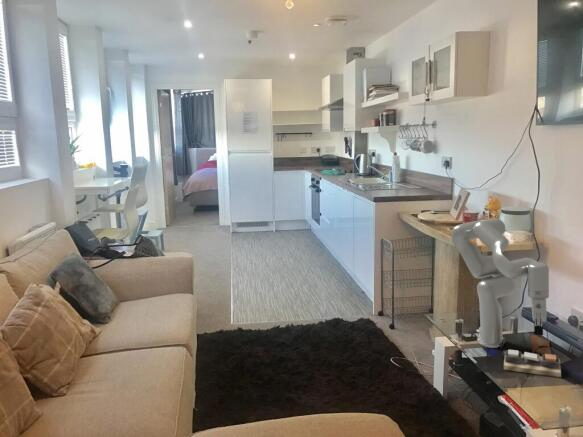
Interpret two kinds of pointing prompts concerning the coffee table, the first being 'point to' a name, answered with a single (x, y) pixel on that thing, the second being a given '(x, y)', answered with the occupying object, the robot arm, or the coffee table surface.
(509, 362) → the switch panel
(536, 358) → the rocker
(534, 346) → the sunglasses case
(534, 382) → the coffee table surface
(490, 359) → the coffee table surface
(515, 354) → the button left
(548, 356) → the button right
